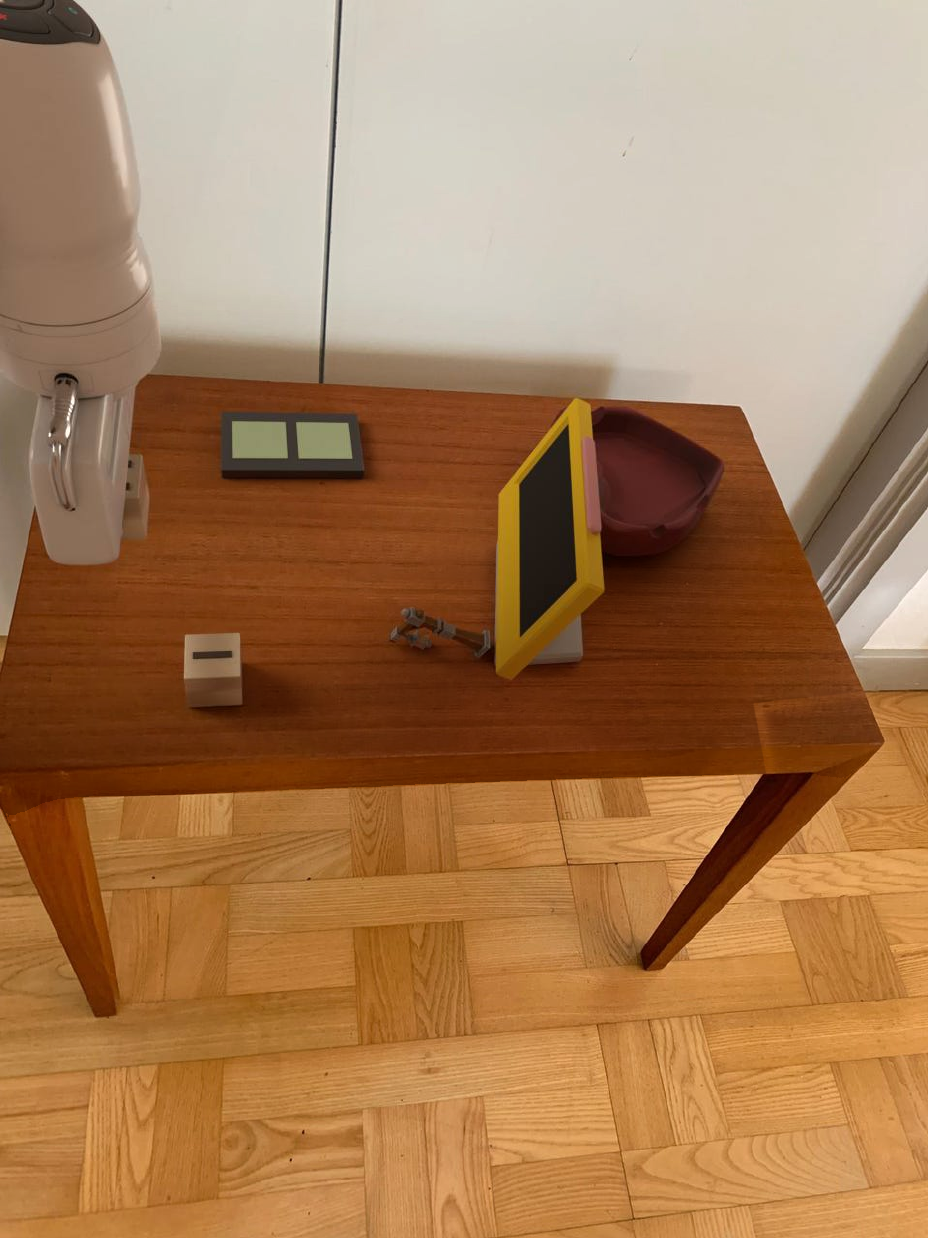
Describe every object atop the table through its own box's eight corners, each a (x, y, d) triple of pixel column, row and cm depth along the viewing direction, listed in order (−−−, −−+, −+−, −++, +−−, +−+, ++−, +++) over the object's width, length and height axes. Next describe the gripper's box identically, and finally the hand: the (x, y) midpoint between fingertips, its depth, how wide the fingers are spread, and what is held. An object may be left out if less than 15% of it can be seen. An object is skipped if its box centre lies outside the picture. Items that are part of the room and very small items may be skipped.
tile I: (188, 707, 70) (183, 678, 67) (189, 664, 72) (184, 633, 69) (242, 705, 71) (240, 675, 68) (241, 662, 73) (239, 631, 70)
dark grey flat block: (221, 478, 85) (221, 469, 84) (221, 419, 89) (221, 410, 89) (363, 478, 88) (364, 469, 87) (356, 421, 92) (357, 412, 91)
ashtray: (741, 564, 88) (763, 528, 85) (582, 574, 84) (596, 537, 81) (678, 436, 99) (695, 399, 95) (533, 440, 95) (544, 402, 91)
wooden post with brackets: (379, 626, 76) (407, 597, 73) (461, 655, 80) (491, 628, 77) (378, 644, 75) (406, 615, 72) (461, 673, 79) (491, 646, 76)
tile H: (82, 541, 61) (70, 497, 57) (88, 496, 63) (77, 452, 60) (146, 540, 61) (138, 496, 58) (149, 496, 64) (142, 452, 61)
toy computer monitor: (491, 519, 87) (526, 385, 75) (573, 530, 88) (621, 399, 75) (487, 699, 75) (528, 574, 62) (582, 709, 75) (641, 588, 63)
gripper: (120, 456, 45) (154, 626, 56) (145, 222, 57) (169, 400, 67) (-22, 455, 43) (42, 629, 54) (34, 216, 55) (77, 398, 66)
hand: (112, 500), depth 61 cm, fingers closed on tile H, 4 cm apart
